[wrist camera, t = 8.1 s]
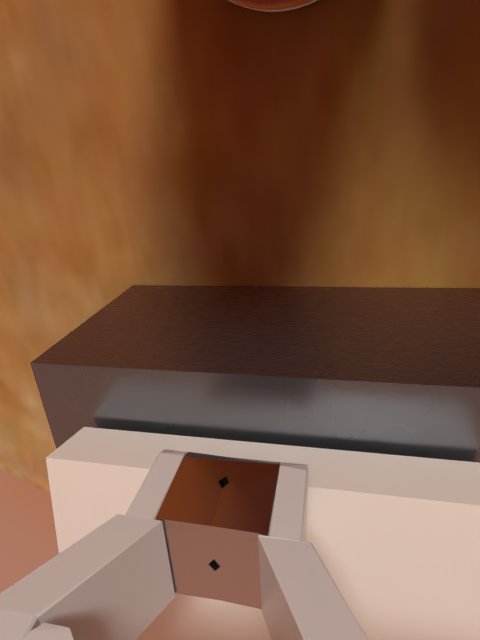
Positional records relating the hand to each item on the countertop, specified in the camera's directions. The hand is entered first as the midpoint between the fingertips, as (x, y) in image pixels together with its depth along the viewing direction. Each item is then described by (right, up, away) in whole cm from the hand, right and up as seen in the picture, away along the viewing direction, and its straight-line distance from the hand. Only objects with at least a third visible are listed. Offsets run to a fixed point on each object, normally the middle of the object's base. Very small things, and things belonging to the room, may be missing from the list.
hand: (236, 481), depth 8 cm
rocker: (+1, -3, +2) cm, 4 cm away
